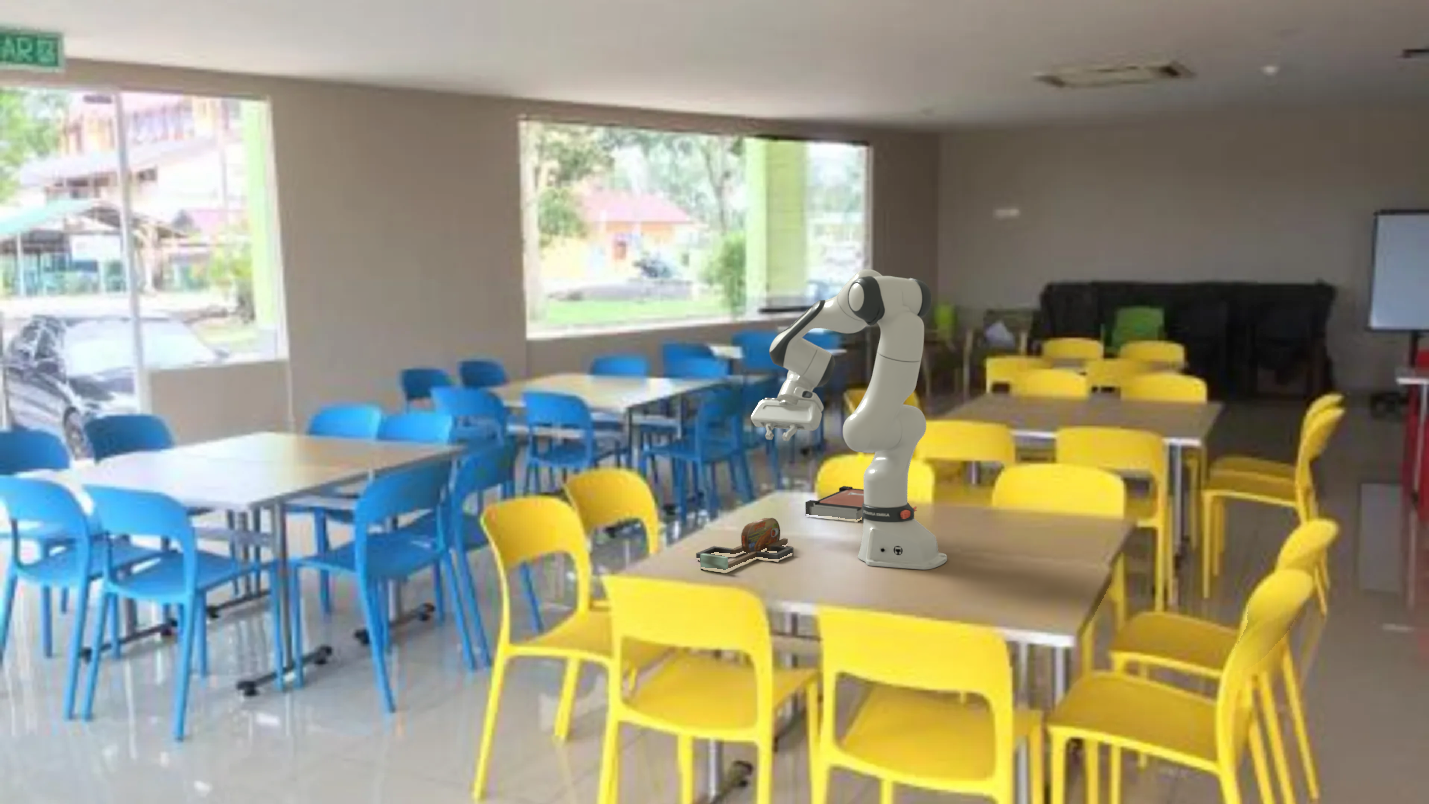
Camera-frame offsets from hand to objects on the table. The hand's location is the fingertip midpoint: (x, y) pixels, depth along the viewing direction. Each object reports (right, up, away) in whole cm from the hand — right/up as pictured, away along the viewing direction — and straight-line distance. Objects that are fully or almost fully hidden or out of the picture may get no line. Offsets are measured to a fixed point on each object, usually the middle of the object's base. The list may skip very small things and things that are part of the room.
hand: (776, 439), depth 326 cm
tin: (-5, -30, -12) cm, 32 cm away
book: (+24, -23, +33) cm, 47 cm away
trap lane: (-9, -30, -18) cm, 36 cm away
